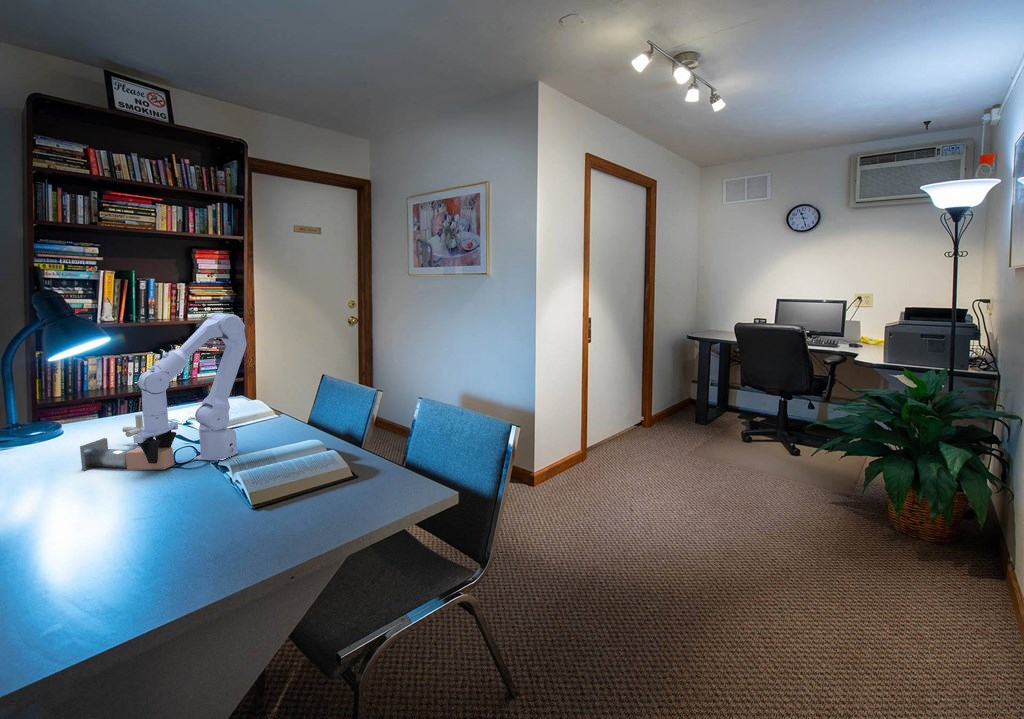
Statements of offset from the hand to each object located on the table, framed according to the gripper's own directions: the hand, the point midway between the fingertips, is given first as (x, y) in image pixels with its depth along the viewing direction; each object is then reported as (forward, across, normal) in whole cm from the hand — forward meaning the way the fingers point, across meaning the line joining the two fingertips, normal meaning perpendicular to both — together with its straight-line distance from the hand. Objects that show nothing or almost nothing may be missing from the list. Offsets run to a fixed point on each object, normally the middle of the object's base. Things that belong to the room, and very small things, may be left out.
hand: (158, 460), depth 148 cm
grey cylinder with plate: (+2, 0, -14) cm, 14 cm away
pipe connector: (+3, -20, -22) cm, 29 cm away
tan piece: (+2, -2, -2) cm, 4 cm away
